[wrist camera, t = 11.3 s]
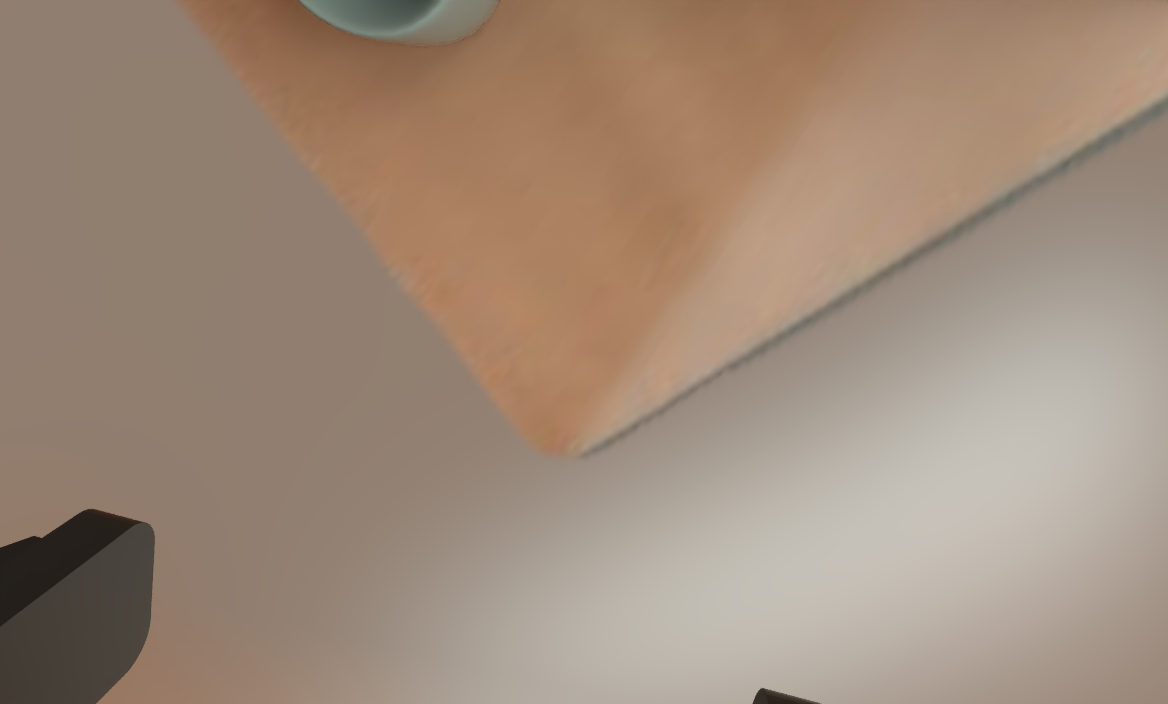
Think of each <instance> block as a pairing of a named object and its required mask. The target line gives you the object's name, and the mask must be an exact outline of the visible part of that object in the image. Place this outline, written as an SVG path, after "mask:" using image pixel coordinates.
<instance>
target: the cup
mask: <svg viewBox="0 0 1168 704" xmlns="http://www.w3.org/2000/svg"><path fill="white" fill-rule="evenodd" d="M298 1H299V2H300V3H301V4H302V5H303V6H304V7H305V8H307V9H308V10H309V11H310V12H312V13H313V14H314V15H315V16H317V17H318V18H319V19H320V20H322V21H324V22H326V23H327V24H329V25H331V26H333V27H335V28H337V29H338V30H341V31H343V32H346V33H349V34H352V35H355V36H357V37H360V38H364V39H367V40H372V41H378V42H384V43H390V44H397V45H404V46H411V47H434V46H445V45H448V44H451V43H454V42H458V41H461V40H464V39H465V38H467V37H468V36H470V35H472V34H473V33H475V32H476V31H477V30H479V29H480V28H481V27H482V26H483V25H484V24H485V22H486V21H487V20H488V19H489V18H490V17H491V15H492V14H493V12H494V11H495V9H496V8H497V6H498V4H499V2H500V0H298Z"/></svg>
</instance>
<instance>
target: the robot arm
mask: <svg viewBox="0 0 1168 704" xmlns="http://www.w3.org/2000/svg"><path fill="white" fill-rule="evenodd" d="M154 537H155V536H154V531H153V529H152V527H151V526H150V525H149V524H148V523H145V522H141V521H137V520H133V519H129V518H126V517H122V516H118V515H114V514H110V513H106V512H103V511H99V510H95V509H88V510H85V511H82V512H81V513H79V514H77V515H76V516H74V517H73V518H71V519H70V520H68V521H67V522H65V523H64V524H62V525H61V526H59V527H58V528H56V529H55V530H53V531H52V532H50V533H49V534H47V535H46V536H45V537H43V538H40V537H36V536H32V537H30V538H27V539H24V540H21V541H18V542H15V543H12V544H10V545H7V546H4V547H1V548H0V704H96V703H97V702H98V701H99V700H100V699H101V698H102V697H103V696H104V695H105V694H106V693H107V692H108V691H109V690H110V689H111V688H112V687H113V686H114V685H115V684H116V683H117V682H118V681H119V680H120V679H121V678H122V677H123V676H124V675H125V674H126V673H127V672H128V670H129V669H130V668H131V667H132V665H133V664H134V662H135V661H136V659H137V658H138V656H139V654H140V652H141V650H142V648H143V646H144V643H145V641H146V638H147V635H148V631H149V627H150V618H151V599H152V581H153V563H154V544H155V540H154V539H155V538H154ZM753 704H820V703H817V702H813V701H809V700H806V699H802V698H798V697H794V696H790V695H787V694H783V693H779V692H775V691H772V690H768V689H764V688H762V689H760V690H759V691H758V693H757V695H756V696H755V699H754V702H753Z"/></svg>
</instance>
